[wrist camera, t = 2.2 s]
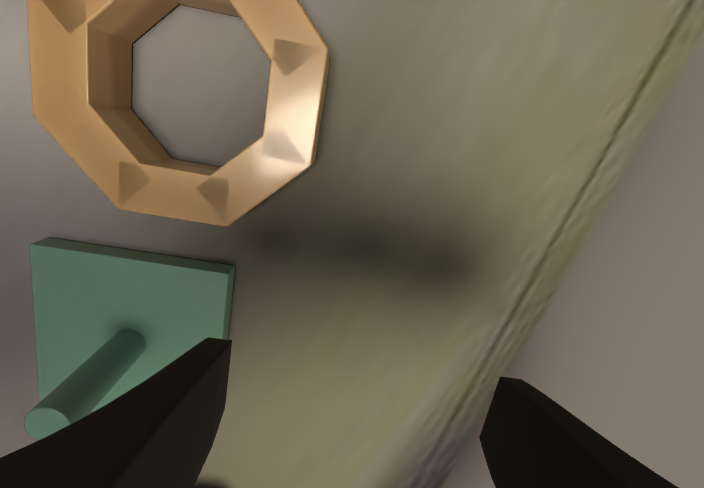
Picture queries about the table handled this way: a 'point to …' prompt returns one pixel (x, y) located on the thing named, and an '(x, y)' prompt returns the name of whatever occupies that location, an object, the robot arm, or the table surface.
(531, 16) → the table surface
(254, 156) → the hanging ring
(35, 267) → the green peg stand
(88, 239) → the table surface
